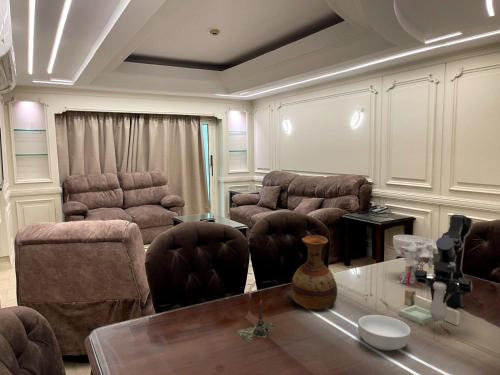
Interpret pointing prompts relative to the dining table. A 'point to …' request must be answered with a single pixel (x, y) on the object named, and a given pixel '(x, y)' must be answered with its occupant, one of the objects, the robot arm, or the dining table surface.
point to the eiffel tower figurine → (256, 329)
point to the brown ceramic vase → (314, 277)
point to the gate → (425, 303)
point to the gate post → (409, 297)
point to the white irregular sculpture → (414, 254)
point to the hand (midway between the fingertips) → (438, 301)
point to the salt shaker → (438, 302)
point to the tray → (417, 315)
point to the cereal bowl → (384, 332)
